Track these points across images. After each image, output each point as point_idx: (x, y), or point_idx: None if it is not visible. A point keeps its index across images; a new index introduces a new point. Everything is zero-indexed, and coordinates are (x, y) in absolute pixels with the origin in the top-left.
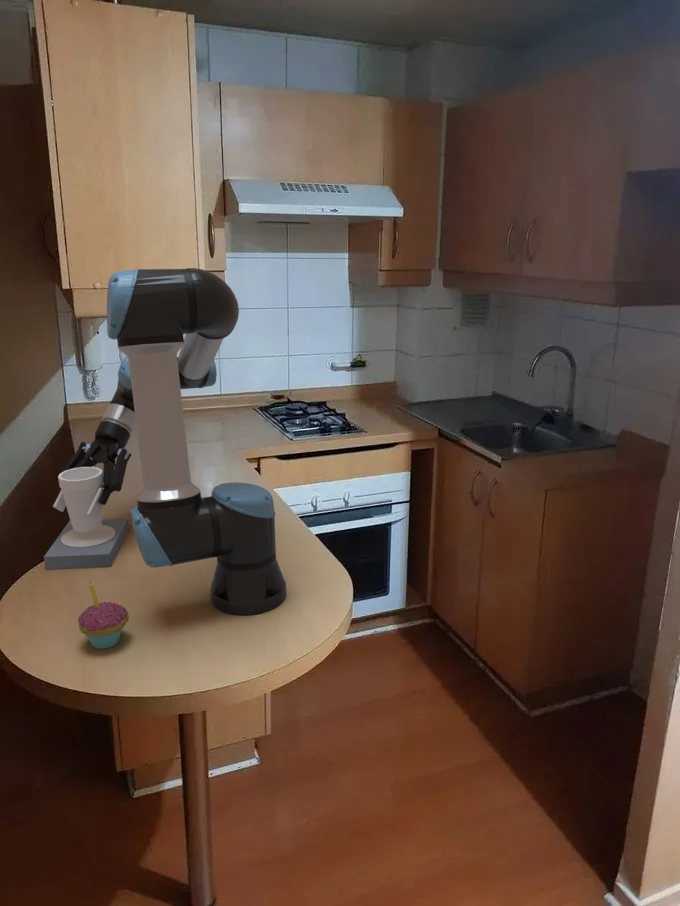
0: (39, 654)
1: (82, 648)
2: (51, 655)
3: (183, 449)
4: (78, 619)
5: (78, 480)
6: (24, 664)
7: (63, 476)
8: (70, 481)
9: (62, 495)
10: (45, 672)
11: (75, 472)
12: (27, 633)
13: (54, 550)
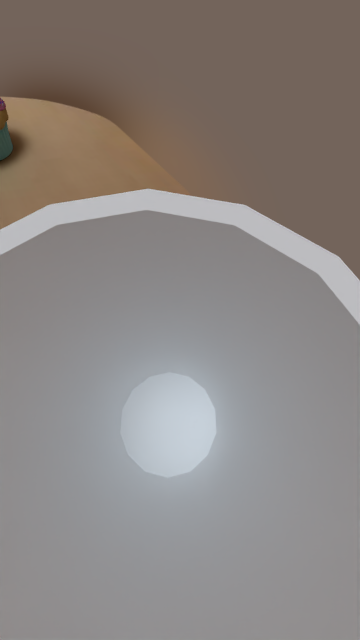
0: (70, 123)
1: (21, 137)
2: (54, 124)
3: None
4: (1, 100)
5: (45, 214)
6: (78, 110)
7: (358, 380)
8: (125, 196)
9: None
10: (47, 105)
11: (355, 631)
12: (109, 147)
13: None
